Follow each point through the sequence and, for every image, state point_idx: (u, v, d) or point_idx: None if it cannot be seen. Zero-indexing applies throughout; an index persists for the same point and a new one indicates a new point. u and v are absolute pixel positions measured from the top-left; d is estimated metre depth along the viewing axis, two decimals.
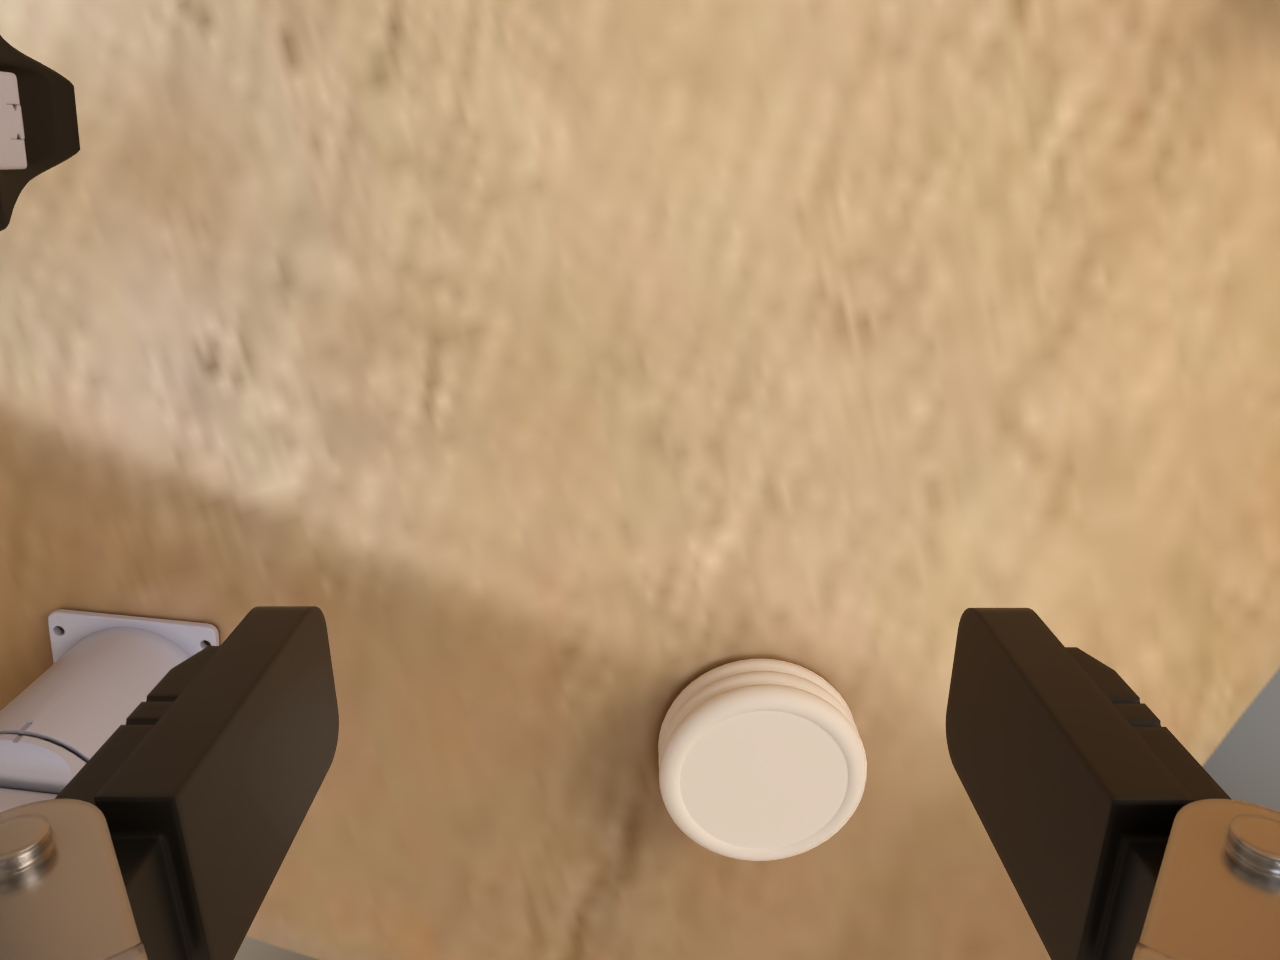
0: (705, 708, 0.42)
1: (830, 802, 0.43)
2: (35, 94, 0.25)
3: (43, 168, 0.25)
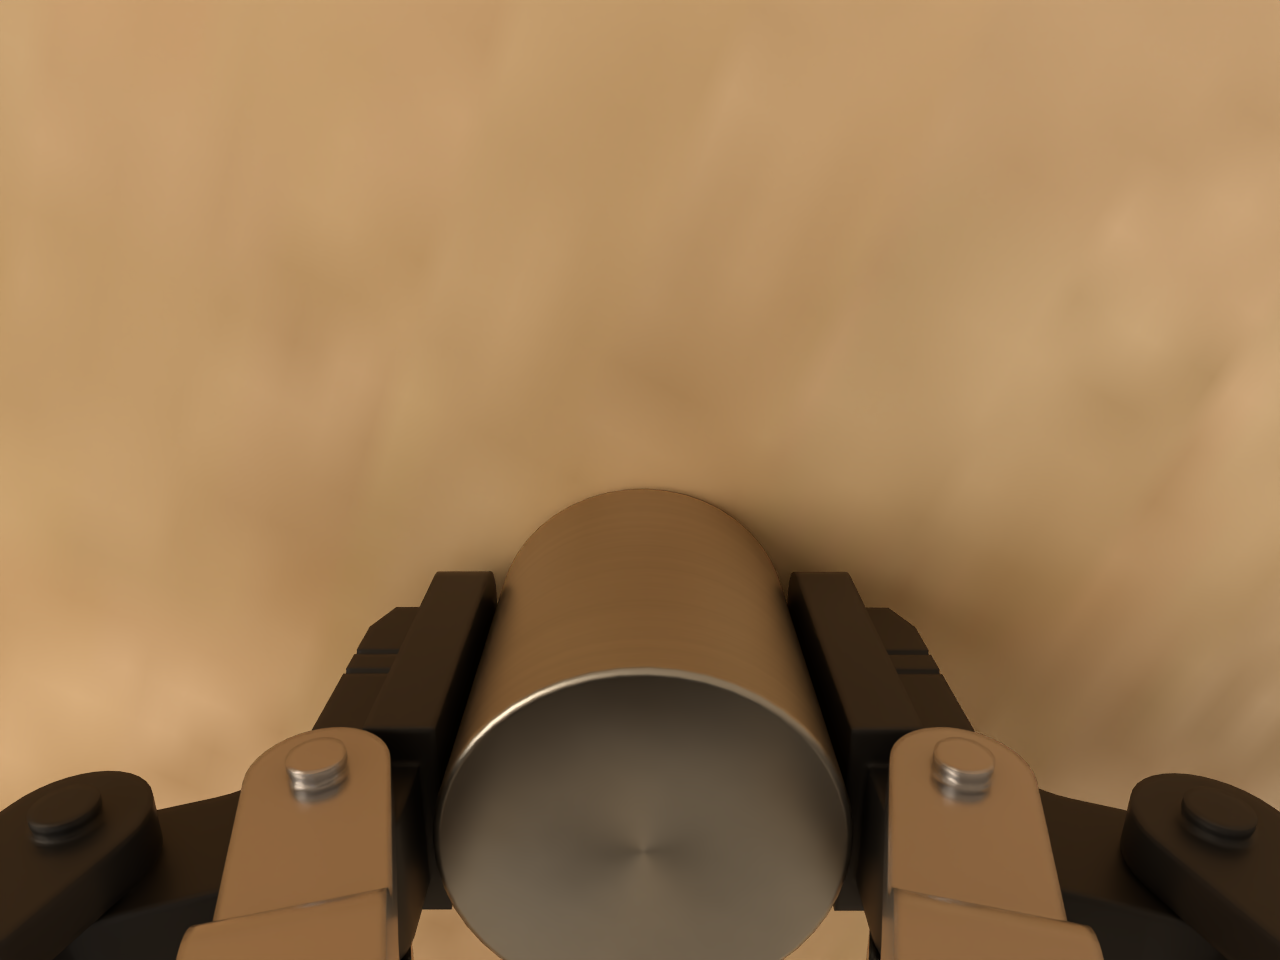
0: None
1: None
2: None
3: None
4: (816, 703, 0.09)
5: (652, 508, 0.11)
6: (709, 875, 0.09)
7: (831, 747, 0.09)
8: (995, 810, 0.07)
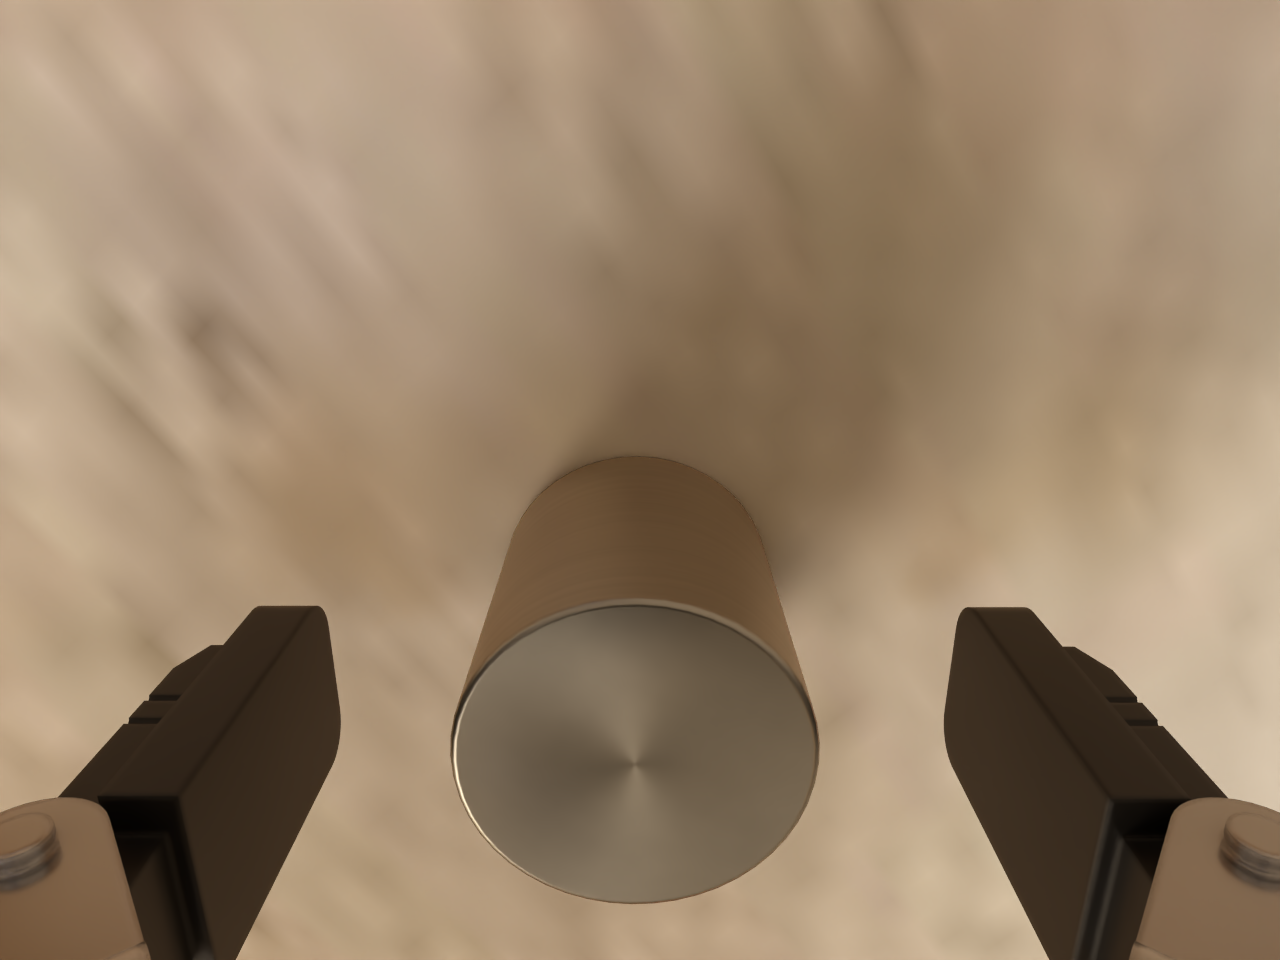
0: None
1: None
2: None
3: None
4: (788, 638, 0.10)
5: (643, 472, 0.12)
6: (693, 785, 0.10)
7: (800, 673, 0.10)
8: None
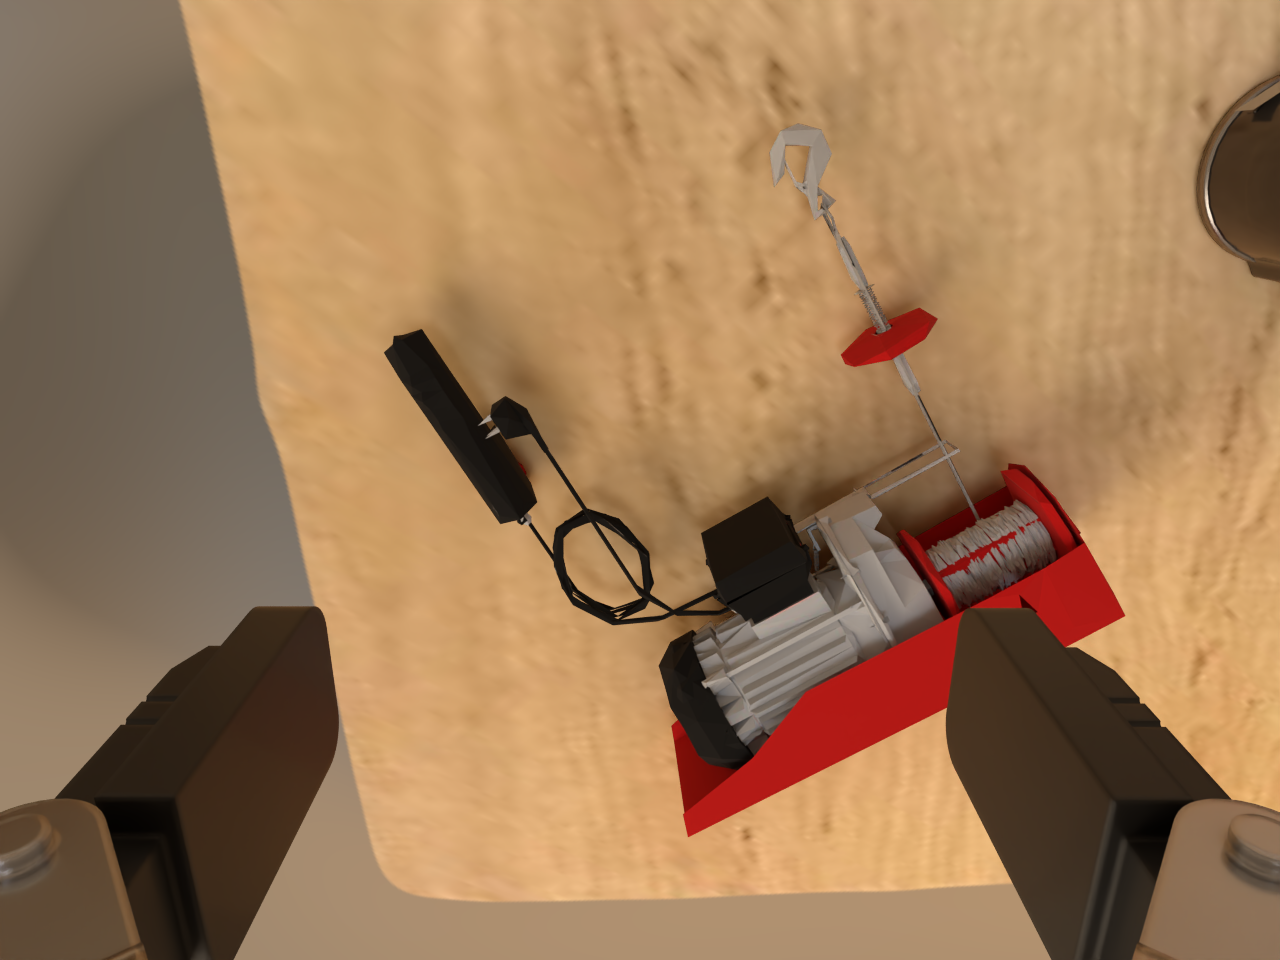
0: None
1: None
2: None
3: None
4: None
5: None
6: None
7: None
8: None
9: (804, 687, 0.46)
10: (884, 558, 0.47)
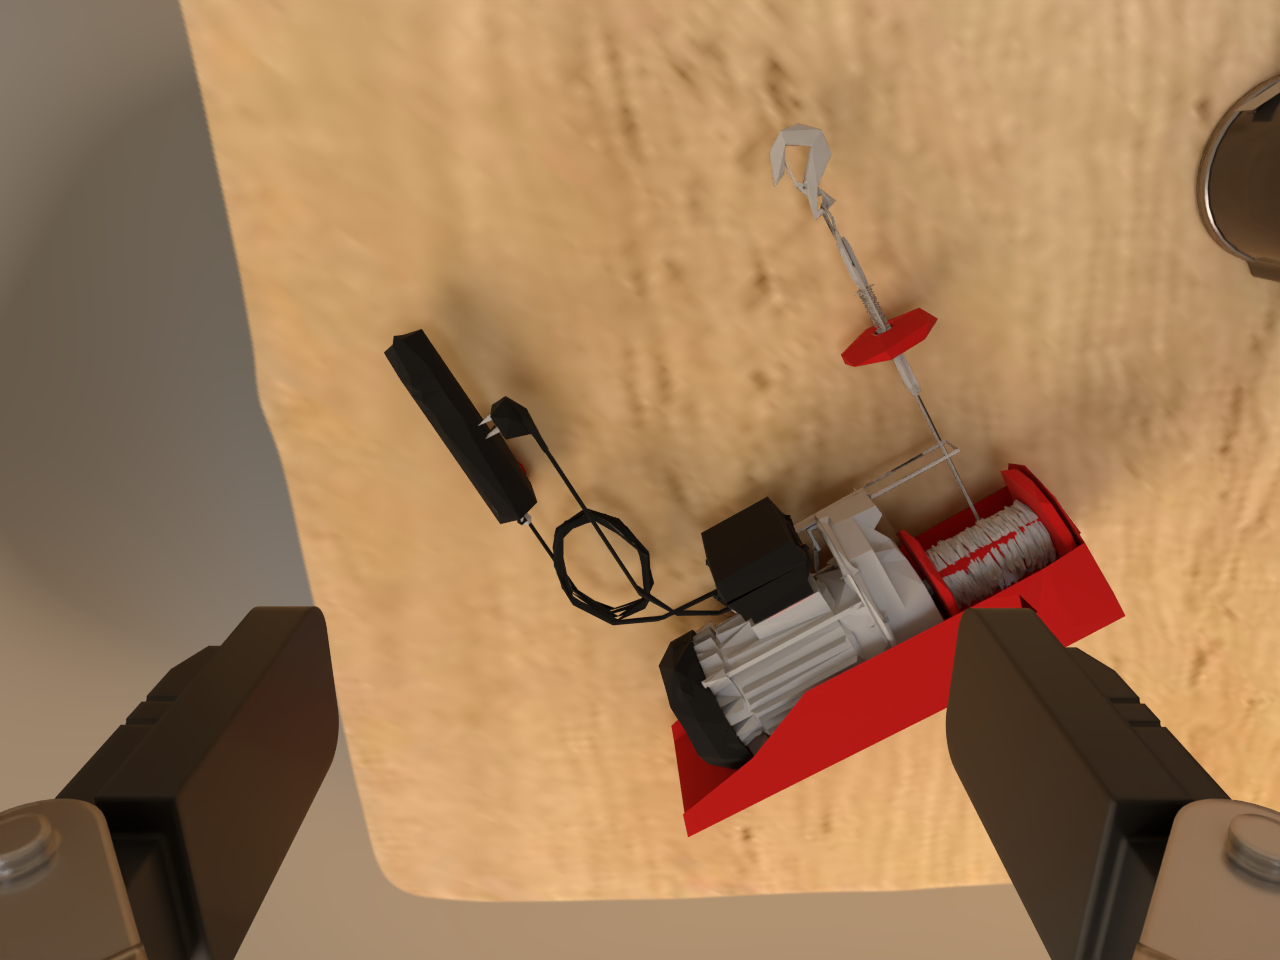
0: None
1: None
2: None
3: None
4: None
5: None
6: None
7: None
8: None
9: (804, 687, 0.46)
10: (884, 558, 0.47)
